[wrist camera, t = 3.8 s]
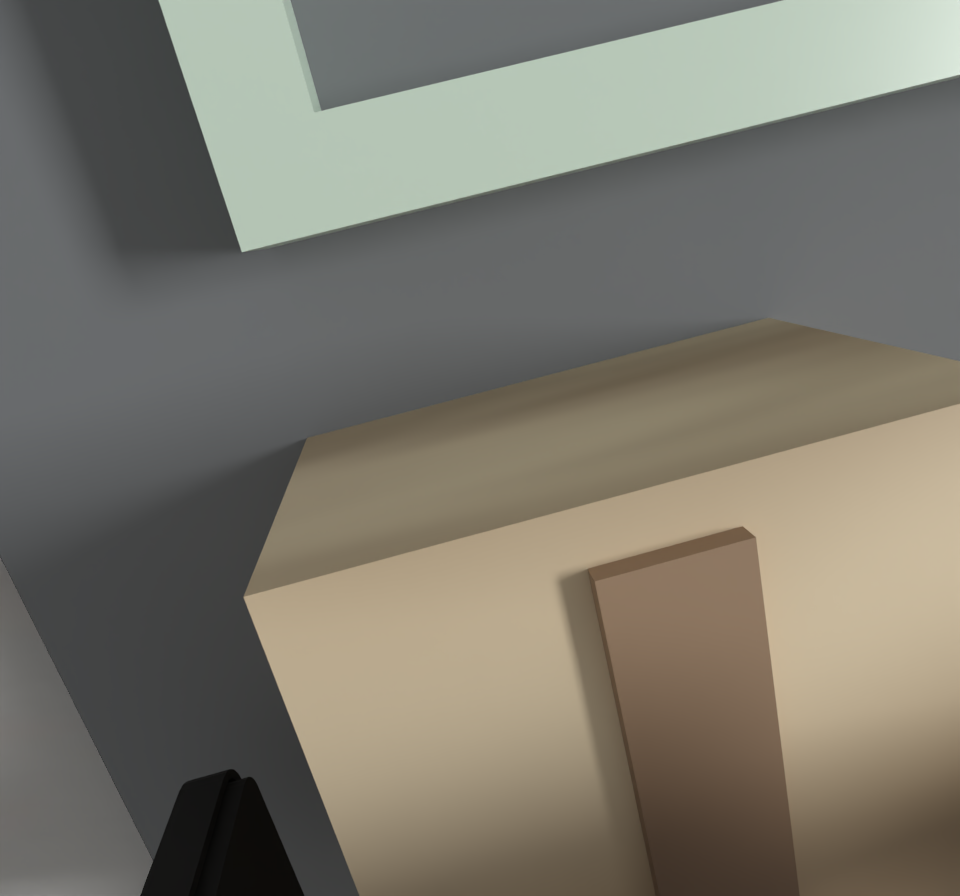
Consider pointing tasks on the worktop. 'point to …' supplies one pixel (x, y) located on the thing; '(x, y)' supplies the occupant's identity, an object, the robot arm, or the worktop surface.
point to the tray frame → (522, 104)
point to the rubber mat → (358, 329)
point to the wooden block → (636, 627)
